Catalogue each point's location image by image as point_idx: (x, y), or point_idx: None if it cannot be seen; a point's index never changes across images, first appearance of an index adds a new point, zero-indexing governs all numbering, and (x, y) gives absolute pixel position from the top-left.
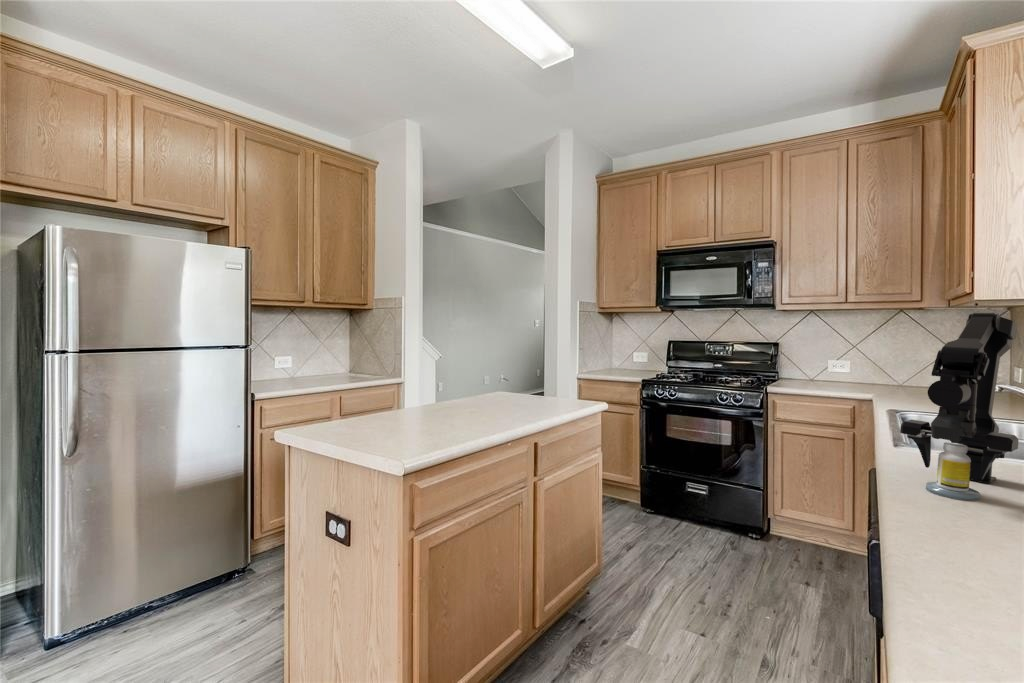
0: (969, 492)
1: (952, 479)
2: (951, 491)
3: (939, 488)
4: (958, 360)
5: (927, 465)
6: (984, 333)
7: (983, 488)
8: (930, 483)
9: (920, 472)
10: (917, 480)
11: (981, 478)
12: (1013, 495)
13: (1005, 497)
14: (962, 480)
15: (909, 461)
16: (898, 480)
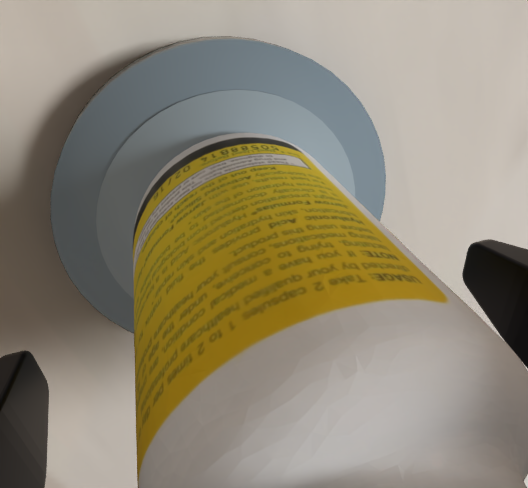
0: (123, 241)
1: (221, 176)
2: (196, 120)
3: (283, 112)
4: None
5: (491, 247)
6: None
7: None
8: (365, 199)
9: None
10: (432, 265)
11: (3, 356)
12: (66, 478)
13: (53, 423)
14: (152, 235)
15: None
16: (513, 151)
